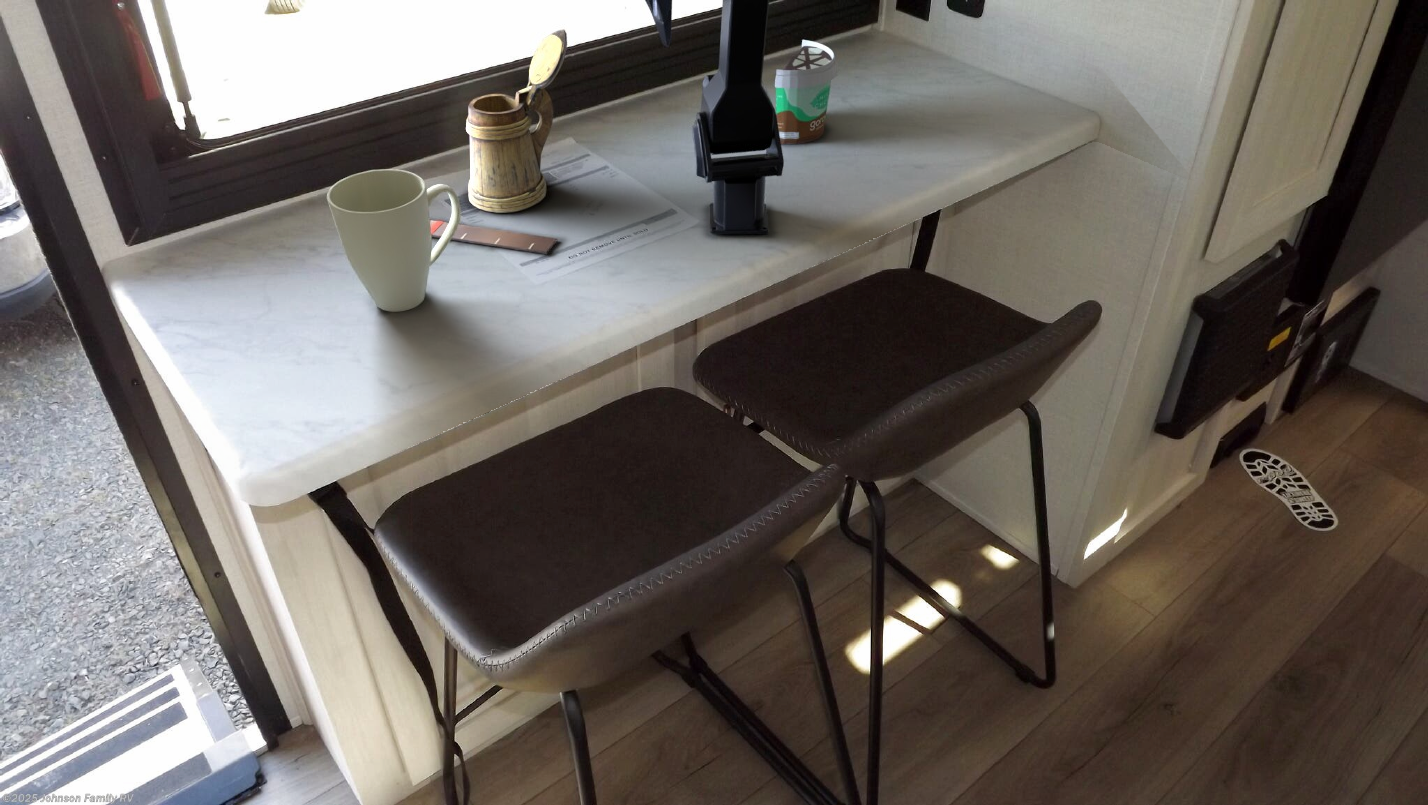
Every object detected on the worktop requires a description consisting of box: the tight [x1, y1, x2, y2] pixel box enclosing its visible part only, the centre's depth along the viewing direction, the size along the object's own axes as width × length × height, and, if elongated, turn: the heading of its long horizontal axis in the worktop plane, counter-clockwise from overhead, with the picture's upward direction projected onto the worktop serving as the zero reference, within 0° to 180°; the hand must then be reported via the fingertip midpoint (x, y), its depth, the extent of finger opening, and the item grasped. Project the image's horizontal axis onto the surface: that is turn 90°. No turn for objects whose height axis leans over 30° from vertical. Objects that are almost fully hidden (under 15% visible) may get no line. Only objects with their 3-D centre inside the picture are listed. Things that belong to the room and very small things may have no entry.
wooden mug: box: [465, 29, 568, 214], centre depth 117 cm, size 9×14×18 cm, turn 119°
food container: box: [774, 39, 838, 145], centre depth 133 cm, size 12×6×10 cm, turn 160°
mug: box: [326, 168, 462, 313], centre depth 101 cm, size 11×10×12 cm
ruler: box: [430, 219, 558, 255], centre depth 114 cm, size 20×3×1 cm, turn 75°
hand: (700, 39), depth 125 cm, fingers open, 9 cm apart
